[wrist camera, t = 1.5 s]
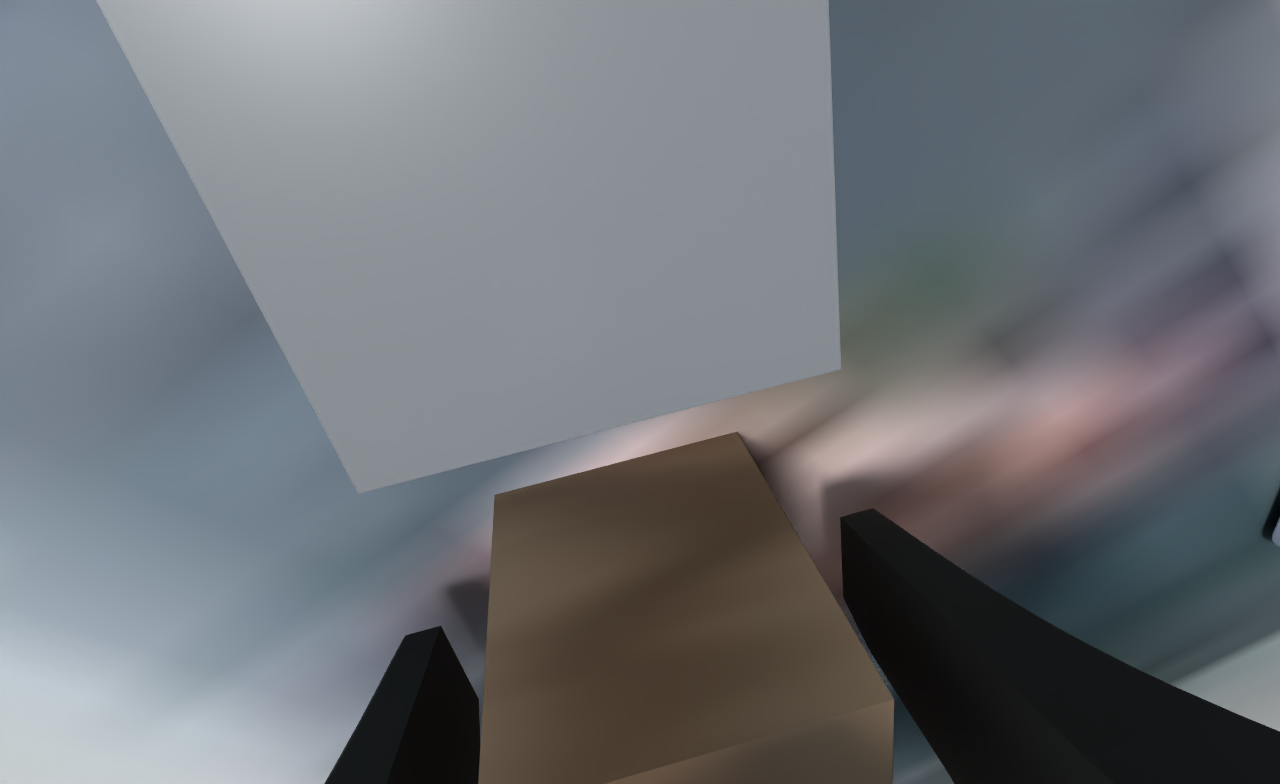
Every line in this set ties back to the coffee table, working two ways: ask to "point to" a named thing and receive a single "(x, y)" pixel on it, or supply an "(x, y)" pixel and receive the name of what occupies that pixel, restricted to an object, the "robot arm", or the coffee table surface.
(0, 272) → the coffee table surface
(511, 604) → the walnut block
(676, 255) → the grey cube
